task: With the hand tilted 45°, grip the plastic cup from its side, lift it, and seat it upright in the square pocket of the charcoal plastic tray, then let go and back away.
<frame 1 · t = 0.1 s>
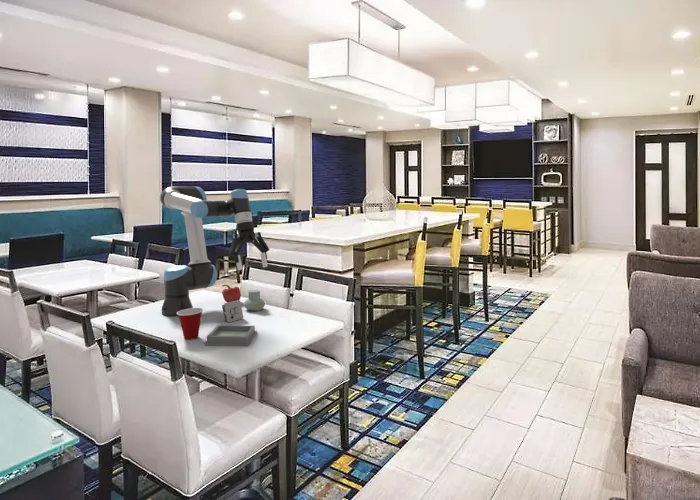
hand: (253, 268, 224), 28 cm above the table, tool tilted 20°, fingers open, 13 cm apart
pocket tray: (231, 338, 211), on the table
electrical switch: (232, 320, 240), on the table
air freshener: (254, 310, 260), on the table
plastic cup: (190, 337, 212), on the table
vegetable: (231, 303, 274), on the table
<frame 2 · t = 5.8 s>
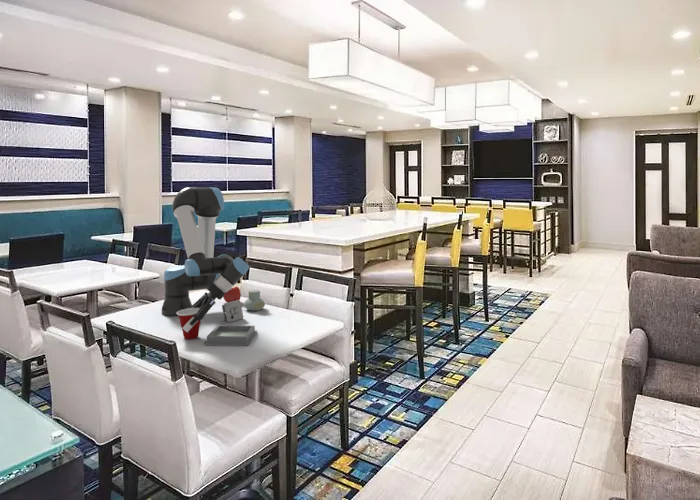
hand: (182, 326, 210), 5 cm above the table, tool tilted 45°, fingers closed on plastic cup, 10 cm apart
plastic cup: (190, 337, 212), on the table, touching gripper
everything else where it was.
when the fingers open (7 cm above the table, at t = 11.4 s): plastic cup moves 3 cm, resting on pocket tray.
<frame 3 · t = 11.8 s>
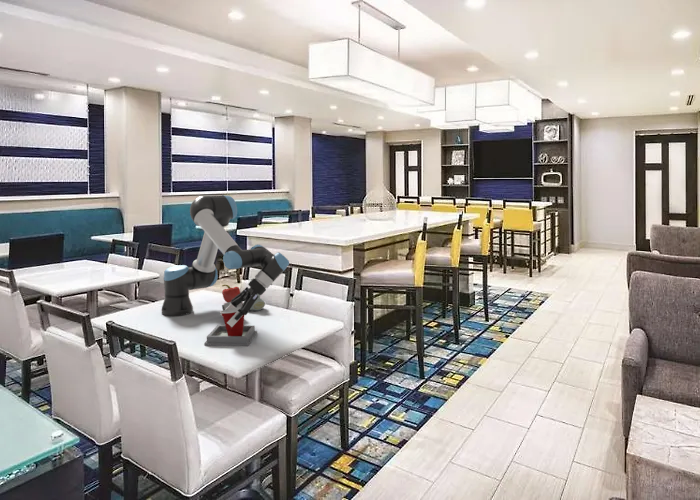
hand: (225, 320, 209), 8 cm above the table, tool tilted 45°, fingers open, 13 cm apart
plastic cup: (234, 337, 209), point 1 cm above the table, touching gripper, pocket tray
everything else where it was.
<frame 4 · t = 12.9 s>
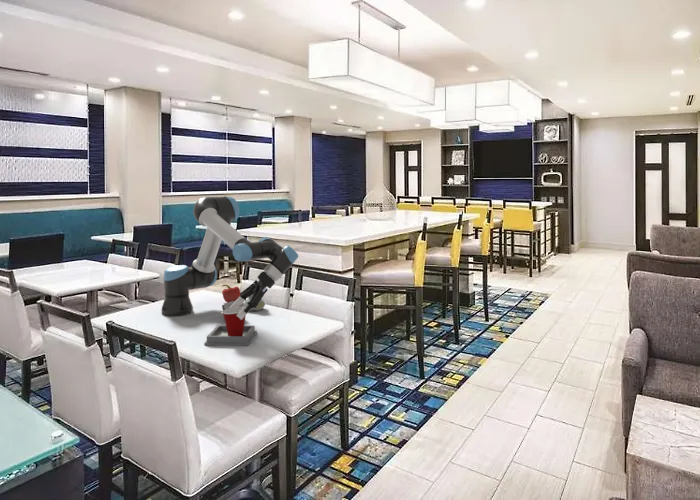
hand: (235, 313, 210), 11 cm above the table, tool tilted 45°, fingers open, 13 cm apart
plastic cup: (234, 337, 209), point 1 cm above the table, touching pocket tray
everything else where it was.
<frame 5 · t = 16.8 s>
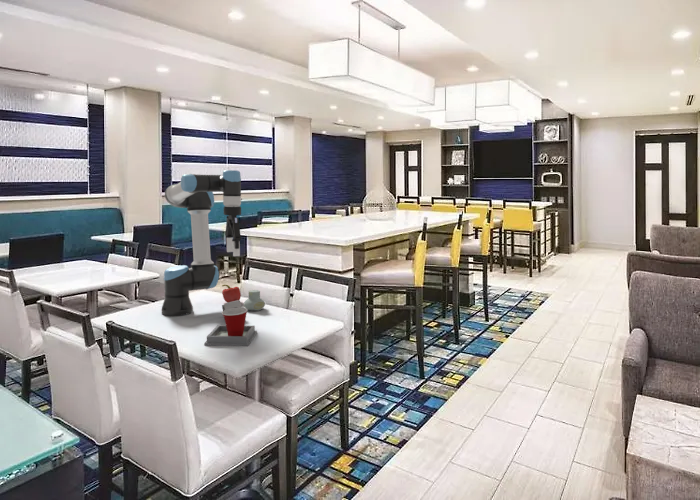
hand: (233, 254, 219), 35 cm above the table, tool pointing down, fingers open, 13 cm apart
nothing on the table moved.
at the end: plastic cup 2.5 cm off-centre on the pocket tray, point 0.9 cm above the pocket tray's base; plastic cup tilted 0°; the gripper is holding nothing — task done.
